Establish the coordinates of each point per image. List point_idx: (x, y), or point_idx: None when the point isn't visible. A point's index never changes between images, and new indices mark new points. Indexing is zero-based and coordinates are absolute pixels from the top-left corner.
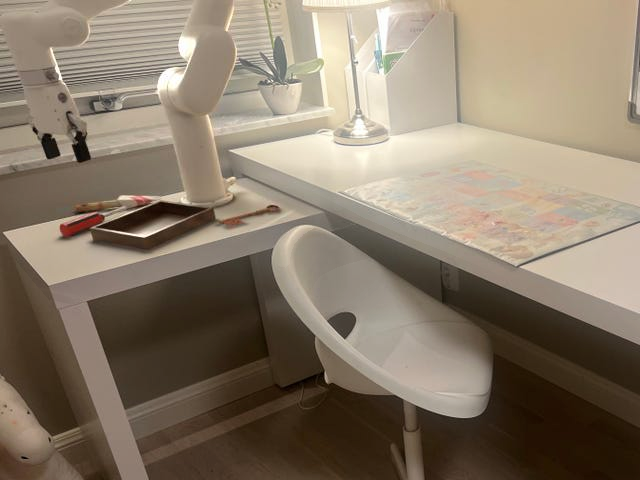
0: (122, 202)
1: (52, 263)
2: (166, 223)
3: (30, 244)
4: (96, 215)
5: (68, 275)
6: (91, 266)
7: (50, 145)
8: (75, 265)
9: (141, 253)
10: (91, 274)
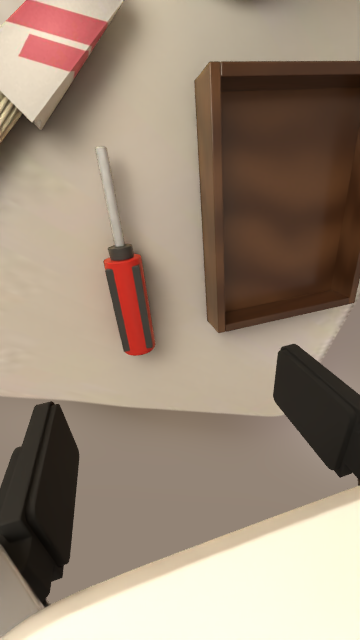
0: (43, 112)
1: (227, 397)
2: (278, 169)
3: (107, 391)
4: (140, 271)
5: None
6: None
7: (60, 502)
8: (265, 381)
9: None
10: None
